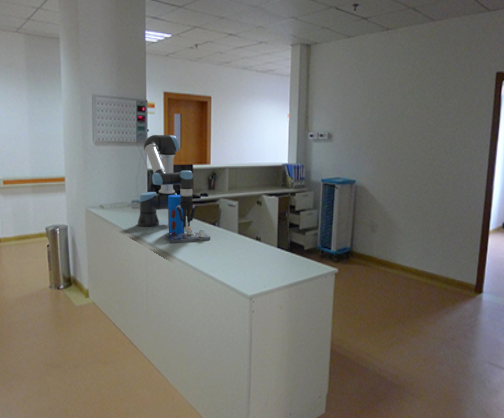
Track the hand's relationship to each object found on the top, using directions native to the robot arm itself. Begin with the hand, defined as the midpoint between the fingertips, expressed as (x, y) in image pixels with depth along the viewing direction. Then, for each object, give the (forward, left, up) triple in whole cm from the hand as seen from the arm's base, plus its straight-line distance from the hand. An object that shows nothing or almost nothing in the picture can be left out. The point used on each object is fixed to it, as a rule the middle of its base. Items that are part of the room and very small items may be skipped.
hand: (186, 231), depth 257 cm
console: (+3, 0, -4) cm, 5 cm away
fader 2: (+8, +8, -2) cm, 11 cm away
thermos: (-16, -2, -4) cm, 16 cm away
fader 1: (0, +2, -2) cm, 3 cm away
